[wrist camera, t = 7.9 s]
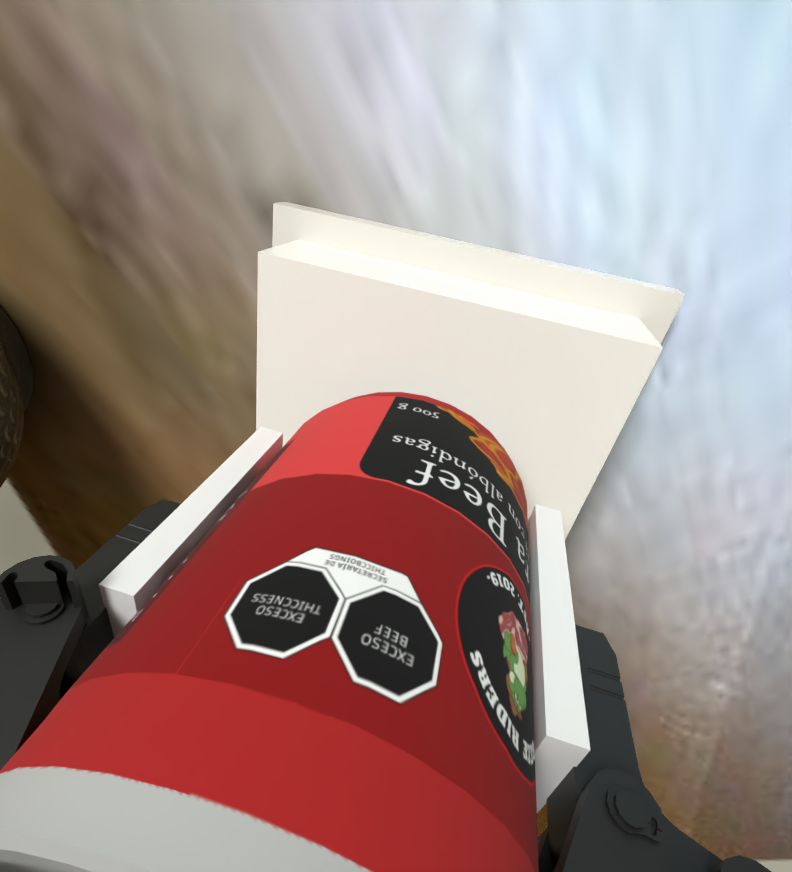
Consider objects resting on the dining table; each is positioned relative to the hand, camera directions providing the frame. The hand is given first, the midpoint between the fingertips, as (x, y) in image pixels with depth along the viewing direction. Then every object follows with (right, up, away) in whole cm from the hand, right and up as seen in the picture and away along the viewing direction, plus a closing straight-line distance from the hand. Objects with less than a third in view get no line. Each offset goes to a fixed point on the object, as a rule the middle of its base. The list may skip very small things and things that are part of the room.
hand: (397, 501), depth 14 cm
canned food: (0, 0, +1) cm, 1 cm away
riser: (+1, +3, +5) cm, 6 cm away
